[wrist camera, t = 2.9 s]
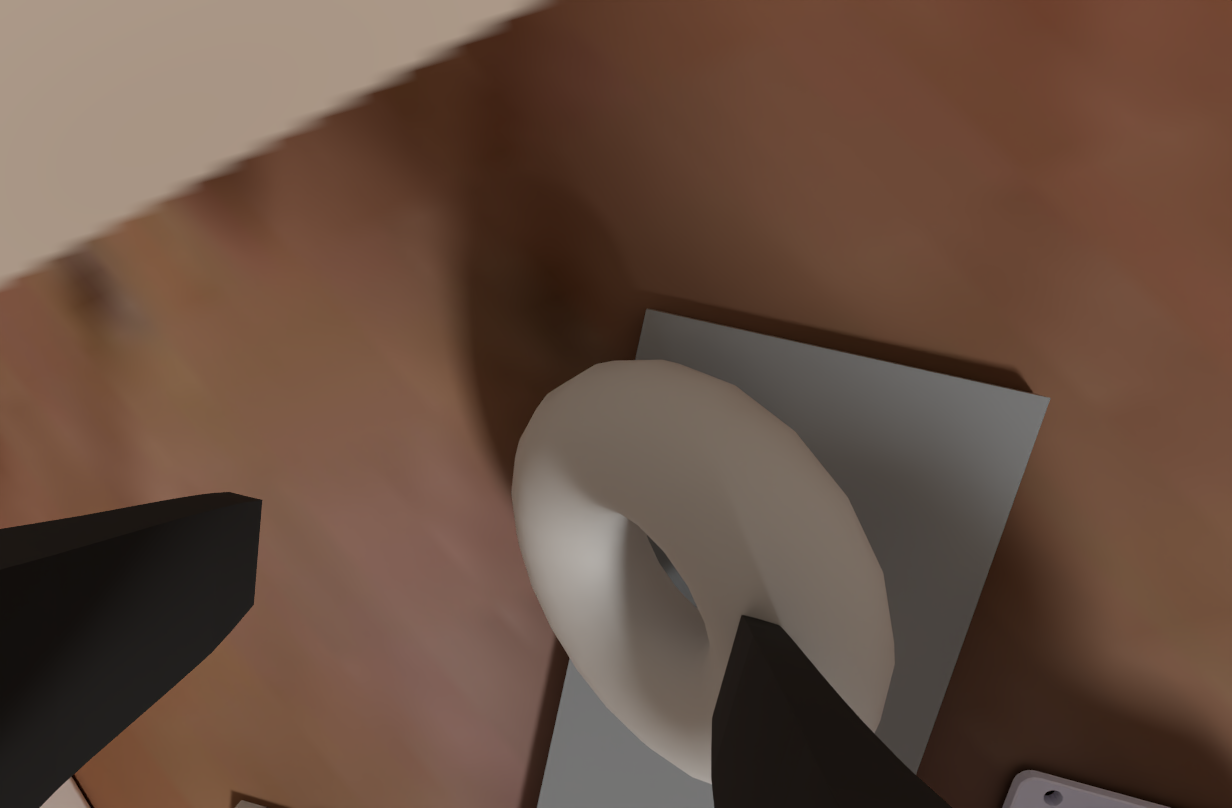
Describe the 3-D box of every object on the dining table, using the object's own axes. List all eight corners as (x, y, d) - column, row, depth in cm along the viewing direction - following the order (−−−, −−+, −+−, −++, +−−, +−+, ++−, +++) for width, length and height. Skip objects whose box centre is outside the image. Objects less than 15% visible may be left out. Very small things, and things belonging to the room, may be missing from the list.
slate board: (1034, 393, 18) (1050, 397, 17) (820, 1005, 22) (824, 1031, 21) (648, 308, 19) (646, 308, 18) (516, 909, 23) (509, 930, 22)
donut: (444, 356, 15) (830, 460, 8) (557, 318, 17) (943, 372, 10) (524, 678, 19) (837, 947, 12) (609, 614, 21) (920, 809, 14)
